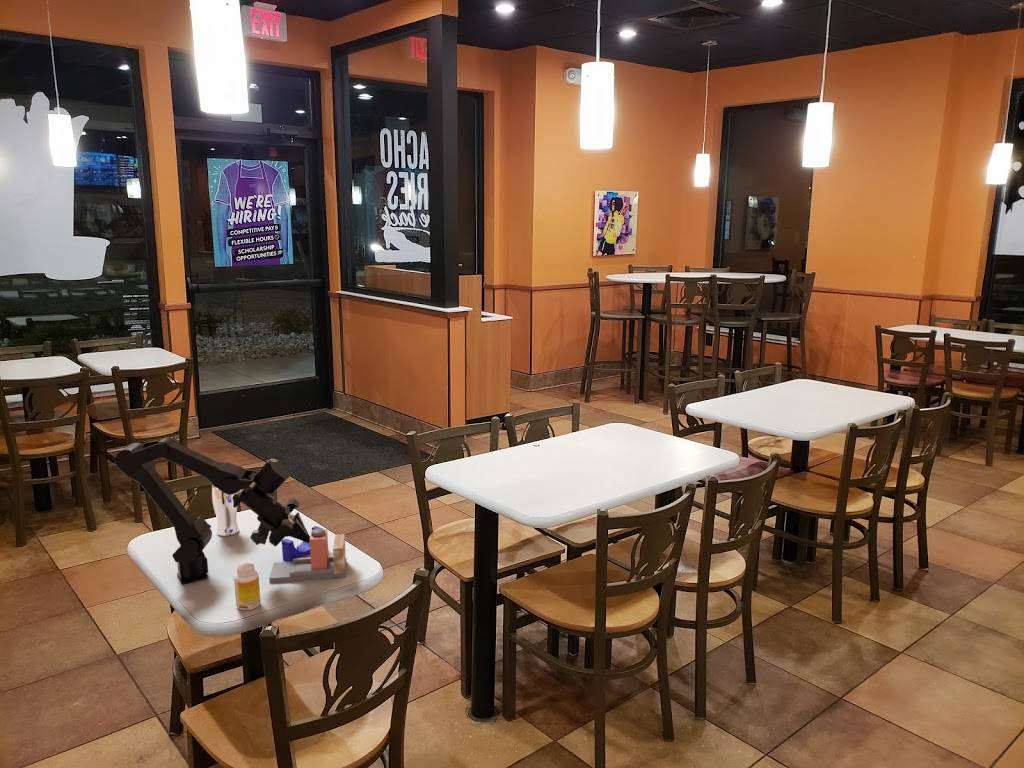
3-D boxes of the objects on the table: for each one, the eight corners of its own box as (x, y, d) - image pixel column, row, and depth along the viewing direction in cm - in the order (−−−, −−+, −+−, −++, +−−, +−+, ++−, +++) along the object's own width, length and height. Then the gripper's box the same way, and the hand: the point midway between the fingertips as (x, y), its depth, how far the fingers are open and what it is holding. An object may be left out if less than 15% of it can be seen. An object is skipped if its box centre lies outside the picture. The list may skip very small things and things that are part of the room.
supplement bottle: (265, 605, 185) (262, 566, 183) (243, 613, 181) (240, 574, 179) (253, 597, 189) (250, 559, 186) (232, 605, 185) (228, 566, 182)
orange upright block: (311, 571, 199) (309, 536, 197) (313, 561, 205) (311, 527, 202) (327, 570, 199) (325, 535, 197) (328, 560, 205) (327, 526, 203)
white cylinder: (245, 530, 227) (241, 483, 224) (225, 539, 222) (221, 490, 218) (230, 525, 231) (226, 478, 228) (210, 533, 225) (206, 485, 222)
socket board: (269, 582, 196) (268, 574, 196) (274, 566, 205) (273, 559, 204) (344, 577, 199) (344, 569, 199) (346, 561, 208) (346, 554, 207)
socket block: (334, 573, 198) (332, 548, 197) (336, 558, 207) (335, 534, 205) (343, 573, 199) (342, 548, 197) (345, 557, 207) (344, 534, 206)
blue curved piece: (313, 544, 219) (312, 524, 218) (324, 548, 217) (323, 528, 215) (279, 559, 209) (278, 539, 208) (290, 563, 207) (288, 543, 206)
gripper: (248, 512, 205) (293, 547, 209) (234, 541, 187) (284, 579, 191) (276, 483, 205) (320, 519, 209) (265, 509, 187) (314, 548, 191)
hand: (309, 541), depth 200 cm, fingers closed, pressing on orange upright block
